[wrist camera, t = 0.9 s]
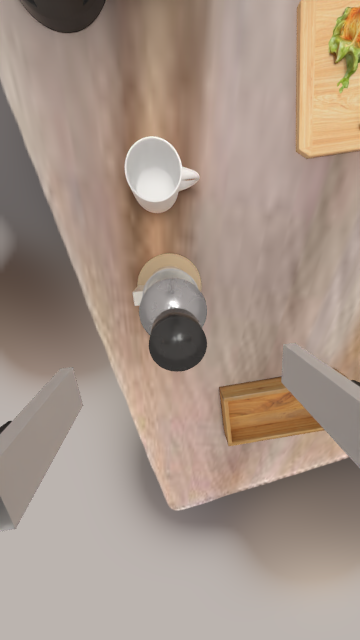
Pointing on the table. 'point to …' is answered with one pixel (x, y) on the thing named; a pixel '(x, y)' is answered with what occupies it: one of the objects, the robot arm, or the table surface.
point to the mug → (156, 174)
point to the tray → (263, 412)
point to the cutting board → (328, 77)
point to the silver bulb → (174, 323)
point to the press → (165, 273)
